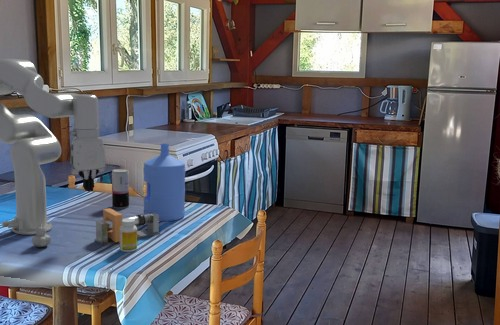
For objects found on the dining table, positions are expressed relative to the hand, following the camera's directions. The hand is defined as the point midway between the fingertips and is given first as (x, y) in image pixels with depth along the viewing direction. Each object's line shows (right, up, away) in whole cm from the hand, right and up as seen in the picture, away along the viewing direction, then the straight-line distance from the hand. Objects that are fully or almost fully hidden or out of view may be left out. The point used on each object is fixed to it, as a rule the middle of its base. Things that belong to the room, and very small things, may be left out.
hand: (88, 190), depth 169 cm
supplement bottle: (+14, -19, -4) cm, 23 cm away
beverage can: (-1, -9, +44) cm, 45 cm away
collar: (+7, -17, +4) cm, 18 cm away
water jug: (+19, -12, +33) cm, 40 cm away
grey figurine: (-13, -18, -5) cm, 23 cm away
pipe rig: (+11, -16, +7) cm, 21 cm away
